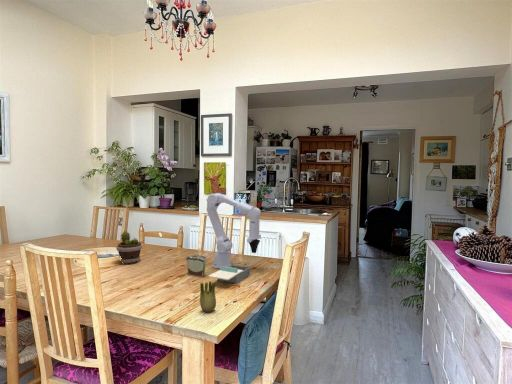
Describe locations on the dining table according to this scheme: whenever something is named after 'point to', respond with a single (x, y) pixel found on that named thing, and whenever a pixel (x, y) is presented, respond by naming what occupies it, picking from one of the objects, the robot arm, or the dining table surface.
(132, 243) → the flowerpot
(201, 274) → the food container
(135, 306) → the dining table surface
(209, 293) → the fennel bulb
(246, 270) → the grey sliding-lid box
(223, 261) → the robot arm
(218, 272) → the lid
